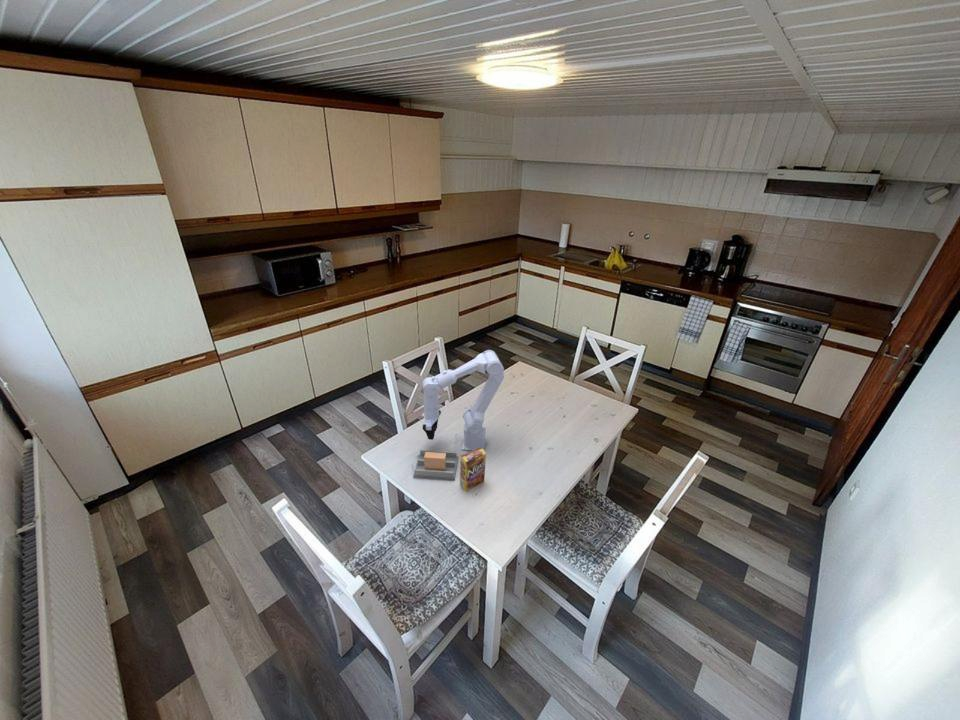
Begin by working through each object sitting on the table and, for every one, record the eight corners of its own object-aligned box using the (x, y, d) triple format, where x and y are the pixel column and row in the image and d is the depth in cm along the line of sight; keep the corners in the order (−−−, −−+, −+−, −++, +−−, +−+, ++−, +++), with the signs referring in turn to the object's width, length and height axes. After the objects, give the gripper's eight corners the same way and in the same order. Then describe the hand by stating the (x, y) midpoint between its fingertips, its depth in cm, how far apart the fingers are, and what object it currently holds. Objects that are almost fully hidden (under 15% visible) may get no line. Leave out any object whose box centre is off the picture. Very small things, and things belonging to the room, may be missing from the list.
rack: (458, 458, 159) (458, 451, 158) (454, 480, 149) (454, 473, 147) (419, 455, 160) (419, 449, 158) (413, 477, 150) (412, 470, 148)
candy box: (465, 492, 144) (465, 462, 137) (459, 484, 147) (459, 454, 140) (485, 482, 148) (486, 452, 141) (479, 475, 151) (479, 445, 144)
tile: (446, 468, 153) (446, 453, 149) (445, 474, 150) (444, 458, 146) (426, 467, 153) (425, 451, 149) (425, 472, 151) (424, 457, 147)
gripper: (424, 394, 159) (426, 421, 165) (417, 416, 146) (419, 444, 153) (441, 395, 158) (442, 422, 165) (435, 417, 146) (437, 445, 152)
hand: (432, 432), depth 159 cm, fingers open, 7 cm apart
